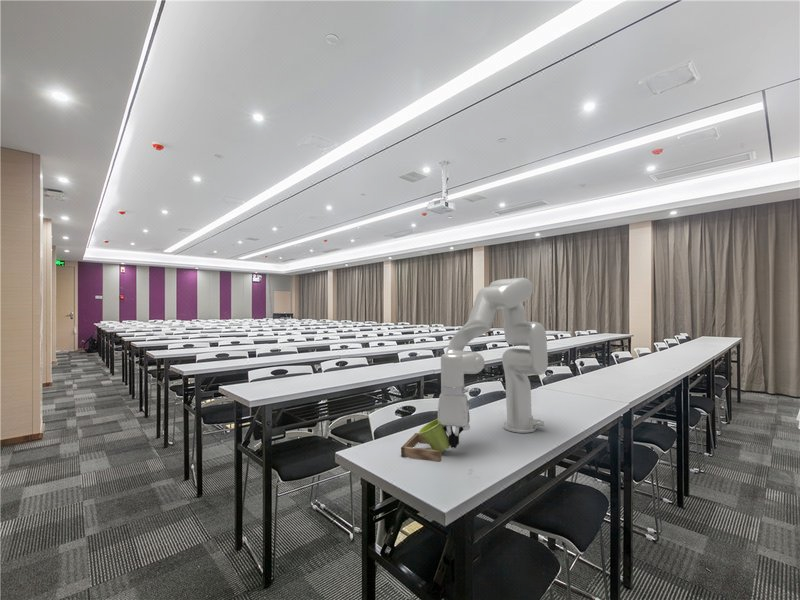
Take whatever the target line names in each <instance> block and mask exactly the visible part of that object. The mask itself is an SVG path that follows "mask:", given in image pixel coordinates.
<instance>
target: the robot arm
mask: <svg viewBox="0 0 800 600" xmlns="http://www.w3.org/2000/svg"><path fill="white" fill-rule="evenodd" d="M533 289H534V288H533V283H532V282H531V281H530V279H528V278H526V277H516V278H505V279H502V278H501V279H498V280H494V281H492V282H491V283H490V284H489V286H485V287H482V288H480V289H479V290H478V292H477V294H476V296H475V297H476V298H475V300H474V303H473V305H472V309H471V311H470V314H469V317H468V319H467V321H466V323H465V324H464V325H463V326H462V327H460V329H459V330H458V331H456V332H455V334H454V335H453V337H452V338H451V340H450V341H449V343H448V346H447V349H446V352H445V353H443V354H442V355H441V357H440V381H441V386H440V387H441V389H440V390H441V393H440V394H439V396H438V405H437V419H438V423H439V422H441V423H440V424H441V425H443V428H444V430H445V431H446V433H447V436H449V444H451V446H450V448H451V449H452V448H454V449H457V447H458V446H459V445H460V444H459V443H460V437H459V435H460V434H461V433H462V432H464V431H470V429H471V425H470V419H471V418H470V416H471V415H470V405H469V400H468V399H469V398H468V395H467V394H465V393H469V387H465V377H464V376H465V375H467V374H468V375H474V374H478V373H480V372H482V370H484V368H485V358H484V357H483V355H482V354H480V353H479V352H476V351H468V350H464V349H465V347H466V346H467V345H468V344H469V343H470V342H472V341H473V340H474V339H476V338H479V337H481V336H483V335H485V334H487V333H489V331H491V330H492V325H493V322H494V319H495V316H496V313H497V310H501V311H502V316H503V318H502V319H503V332H504V333H503V334H504V339H505V342H506V343H507V344H508V345H512V346H520V347H521V346H522V347H529V348H528V349H526V348H514V347H513V348H508V349H506V350H505V351H504V352H503V354H502V357H501V361H502V367H503V371H504V379H505V399H506V406H505V407H506V421H505V422H504V423H503V424H502V426H503V428H504V430H506V431H508V432H511V433H512V432H513V433H519V434H526V433H527V434H528V433H533V432H536V430H537V426H540V427H545V421H544V420H542V419H535V418H534V415H533V414H532V413H533V411H532V410H533V409H532V388H531V386H532V385H531V381H530V379H529V377H528V375H532V376H541V375H543V374H545V373H546V372H547V370H548V367H549V366H548V365H549V363H548V361H549V360H548V359H549V357H548V356H549V355H548V344H547V343H548V341H547V332H546V329H545V327H544V326H543V324H542V323H540V322H538V321H527V318H526V308H525V306H524V305H523V303H524V302H526V301H528V299H530V298H531V296H532V294H533ZM453 427H454V428H455V429H453Z"/></svg>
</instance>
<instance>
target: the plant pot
mask: <svg viewBox="0 0 800 600" xmlns="http://www.w3.org/2000/svg"><path fill="white" fill-rule="evenodd" d="M440 423H441V422H439V423H438V418H435V419H434V420H432V421H430V422H428V423H426V424H425V425H424V426H422V427H421V428H420V429H419V431H418V432H417V433H419V434H421V435H422V437H424V438H425V440H426V441H427V442H428V444H427V445H429V446H430V448H431V450H439V451H441V453H443V452H444V451H445V450H446V449H449V448H450V447H451V446H450V445H451V444H449V438H448V436H449V435H448V433H447V432H446V431H445V430H444V428H443V425H441V424H440Z"/></svg>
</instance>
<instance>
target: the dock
mask: <svg viewBox="0 0 800 600" xmlns="http://www.w3.org/2000/svg"><path fill="white" fill-rule="evenodd" d="M447 436H448V438H449V435H447ZM418 442H419V443H420V444H426V443H428V442H427V441H426V440H425V438H424V437H422V435H421V434H419V433H418V432H415V433H414V434H413V435H412V436H411V437H410V438H408V440H407V441H406V442H405V443H404V444H403V445H401V447H400V451H401V452H400V453H401V455H400V456H402V457H401V458H407V457H409V459H416V460H425V461H431V462H440V463H441V461H442V452H441V451H439V450H433V449H432V448H431V449H430V448H422V447H415V446H417V444H419V443H418ZM413 447H414V448H413ZM449 447H451V445H450V446H449Z"/></svg>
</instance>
